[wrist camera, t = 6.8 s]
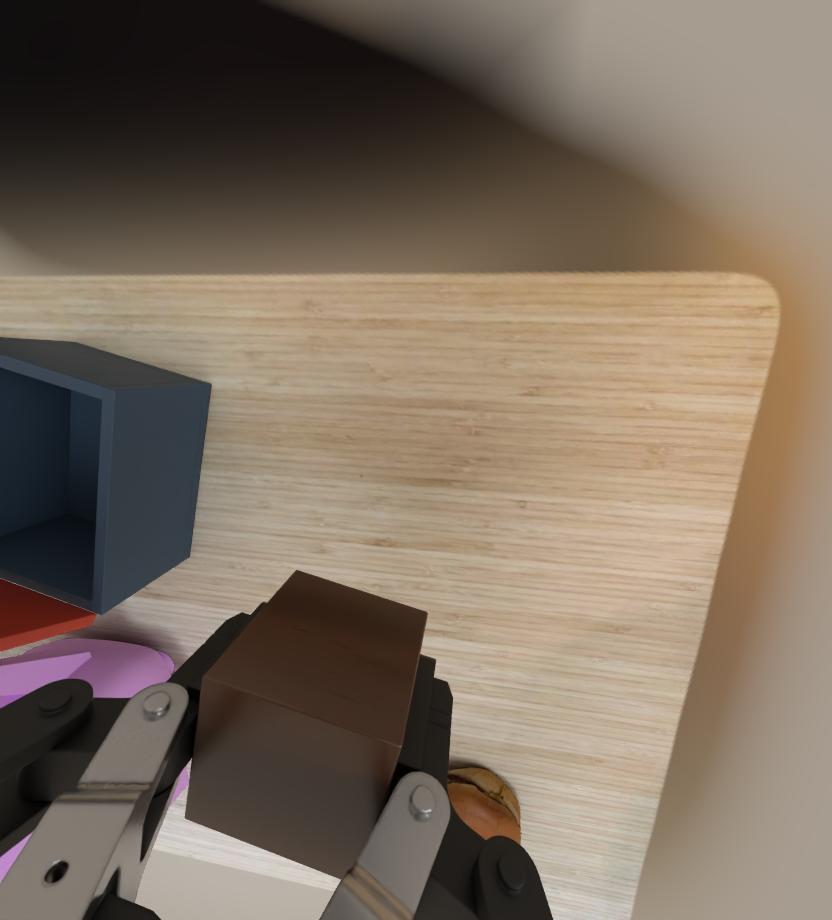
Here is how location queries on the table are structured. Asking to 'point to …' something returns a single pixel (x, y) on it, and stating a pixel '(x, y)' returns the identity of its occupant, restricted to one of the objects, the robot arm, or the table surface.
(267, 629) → the block
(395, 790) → the robot arm
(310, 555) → the table surface
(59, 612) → the lunchbox lid
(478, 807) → the burger
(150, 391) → the box
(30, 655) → the teapot
